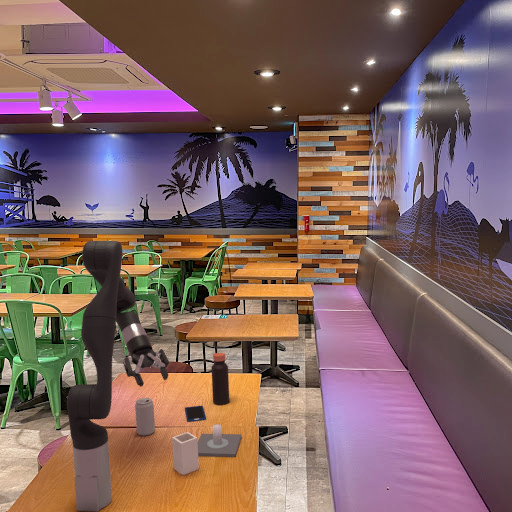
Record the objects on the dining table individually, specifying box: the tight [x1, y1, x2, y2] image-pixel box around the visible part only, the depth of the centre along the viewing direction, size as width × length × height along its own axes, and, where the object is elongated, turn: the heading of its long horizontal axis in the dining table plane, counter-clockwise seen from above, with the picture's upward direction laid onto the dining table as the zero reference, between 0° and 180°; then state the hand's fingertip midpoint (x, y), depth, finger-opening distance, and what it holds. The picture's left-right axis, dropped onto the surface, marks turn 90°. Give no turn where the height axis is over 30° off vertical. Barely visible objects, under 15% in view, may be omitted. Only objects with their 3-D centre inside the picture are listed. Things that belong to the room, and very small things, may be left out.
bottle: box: [210, 352, 230, 406], centre depth 210 cm, size 7×7×20 cm
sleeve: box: [171, 431, 200, 476], centre depth 159 cm, size 6×6×10 cm
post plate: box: [197, 423, 243, 458], centre depth 173 cm, size 14×14×7 cm
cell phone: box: [184, 405, 207, 423], centre depth 200 cm, size 7×14×1 cm, turn 12°
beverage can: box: [134, 397, 156, 437], centre depth 185 cm, size 6×6×12 cm
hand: (154, 382), depth 166 cm, fingers open, 8 cm apart
